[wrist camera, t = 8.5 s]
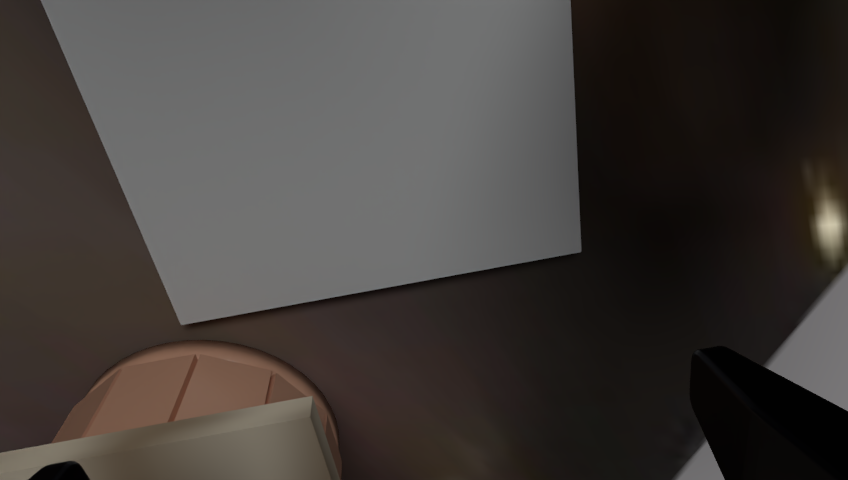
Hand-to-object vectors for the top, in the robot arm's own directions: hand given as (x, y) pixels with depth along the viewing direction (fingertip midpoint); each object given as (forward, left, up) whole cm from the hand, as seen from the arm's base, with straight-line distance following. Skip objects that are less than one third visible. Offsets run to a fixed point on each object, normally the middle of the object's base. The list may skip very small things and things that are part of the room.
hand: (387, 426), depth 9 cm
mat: (+1, -2, -12) cm, 12 cm away
